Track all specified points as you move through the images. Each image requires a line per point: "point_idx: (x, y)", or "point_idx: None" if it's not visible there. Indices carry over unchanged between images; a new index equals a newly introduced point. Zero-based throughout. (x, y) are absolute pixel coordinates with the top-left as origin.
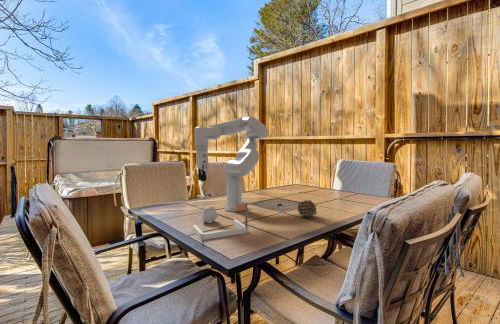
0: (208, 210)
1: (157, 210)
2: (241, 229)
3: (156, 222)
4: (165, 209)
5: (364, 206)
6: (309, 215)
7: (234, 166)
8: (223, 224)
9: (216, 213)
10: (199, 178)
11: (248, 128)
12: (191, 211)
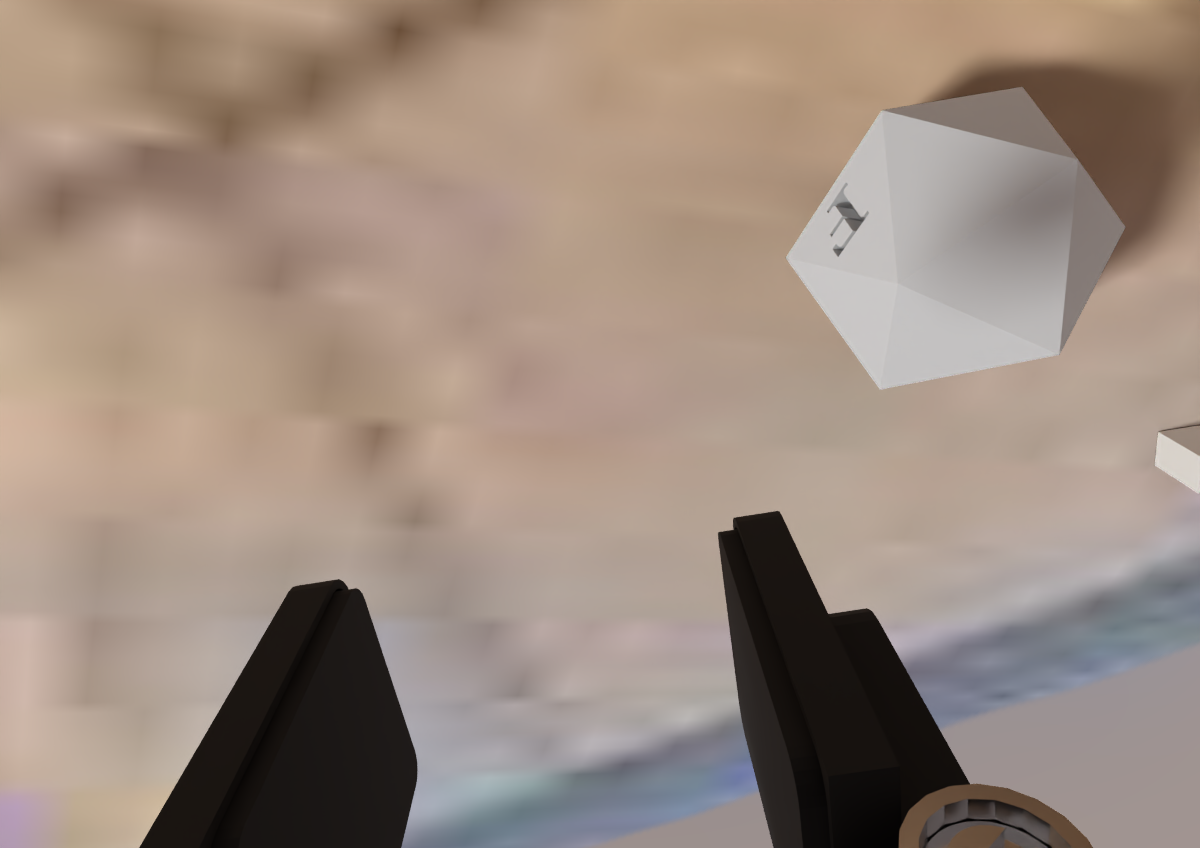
0: (1082, 282)
1: (82, 815)
2: None
3: (659, 796)
4: (30, 737)
5: None
6: None
7: None
8: (1129, 19)
9: (1043, 115)
10: (392, 791)
11: None
12: (196, 419)
